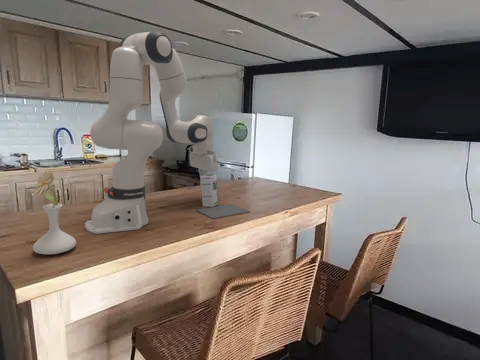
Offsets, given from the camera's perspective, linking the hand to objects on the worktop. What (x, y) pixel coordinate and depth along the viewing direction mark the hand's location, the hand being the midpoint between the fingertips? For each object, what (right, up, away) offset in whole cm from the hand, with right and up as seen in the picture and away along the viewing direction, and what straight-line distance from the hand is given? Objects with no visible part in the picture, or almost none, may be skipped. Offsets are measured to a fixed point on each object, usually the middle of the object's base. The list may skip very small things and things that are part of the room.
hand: (202, 178), depth 154 cm
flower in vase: (-37, -22, -59) cm, 73 cm away
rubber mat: (+10, -15, -12) cm, 22 cm away
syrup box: (+4, -13, -4) cm, 14 cm away
